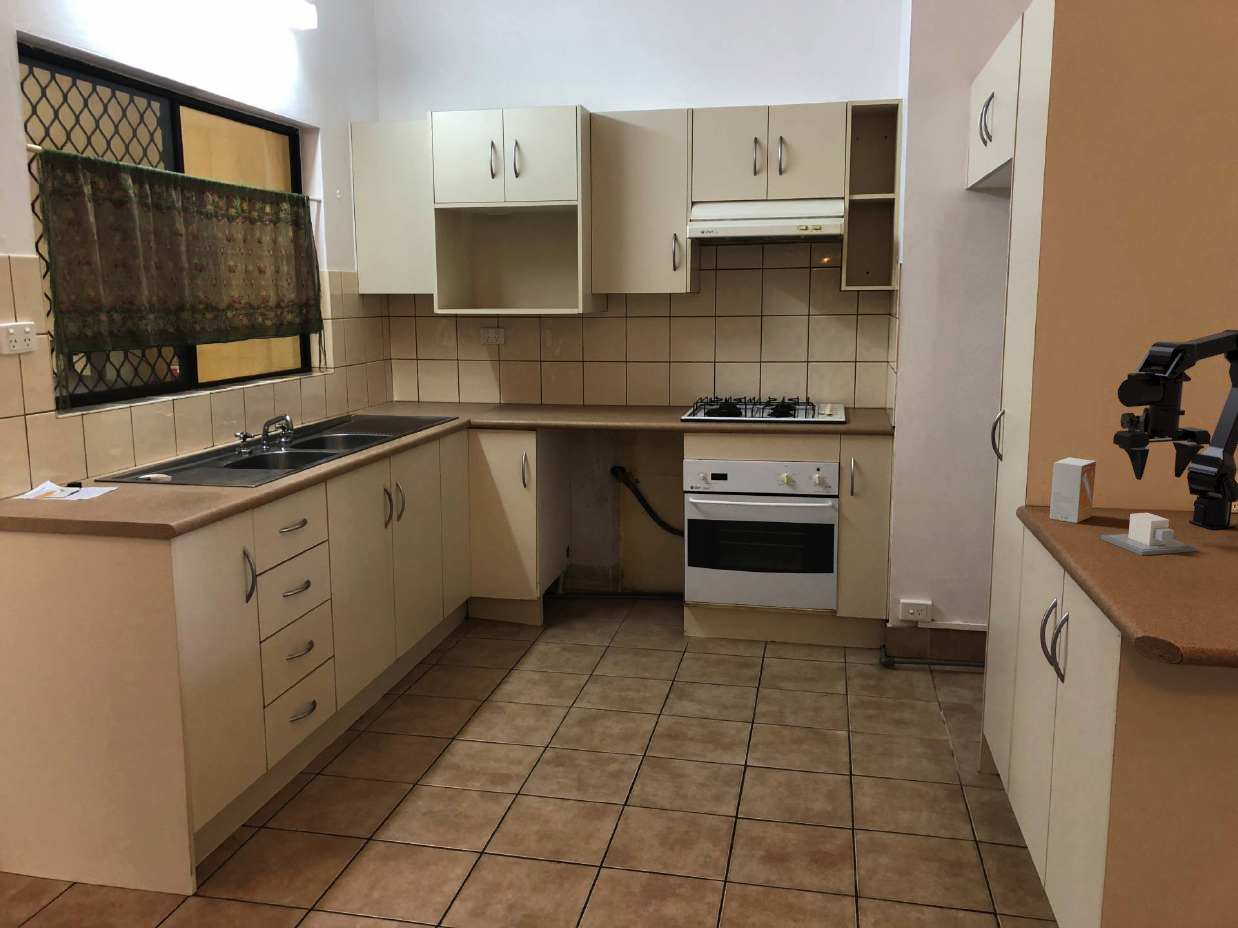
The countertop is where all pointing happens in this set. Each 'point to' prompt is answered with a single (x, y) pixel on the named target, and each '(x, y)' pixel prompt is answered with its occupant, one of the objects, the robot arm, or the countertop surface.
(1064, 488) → the small box
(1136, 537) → the connector
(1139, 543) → the plate
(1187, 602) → the countertop surface
